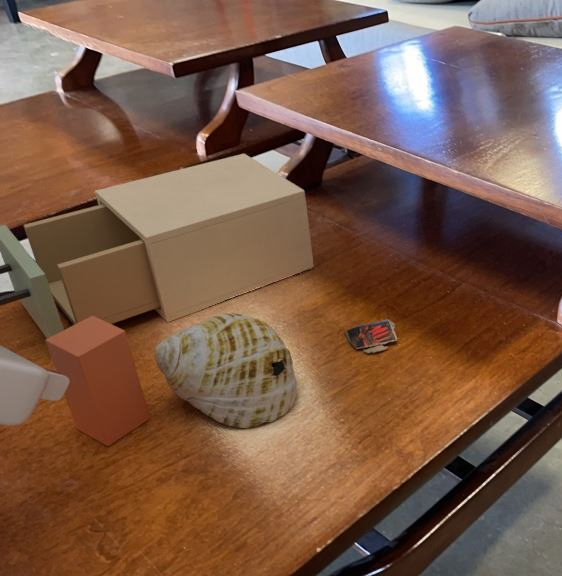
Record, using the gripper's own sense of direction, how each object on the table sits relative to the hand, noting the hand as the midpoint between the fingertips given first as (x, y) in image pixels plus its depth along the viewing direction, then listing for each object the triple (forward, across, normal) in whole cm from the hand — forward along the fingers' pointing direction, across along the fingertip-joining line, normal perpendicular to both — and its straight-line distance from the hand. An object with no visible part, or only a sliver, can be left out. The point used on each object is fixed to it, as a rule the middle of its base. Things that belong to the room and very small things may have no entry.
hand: (18, 364), depth 54 cm
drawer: (+17, +16, -5) cm, 24 cm away
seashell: (+16, -5, -2) cm, 17 cm away
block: (+10, 0, +3) cm, 11 cm away
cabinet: (+26, +13, -12) cm, 31 cm away
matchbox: (+25, -10, -12) cm, 30 cm away
